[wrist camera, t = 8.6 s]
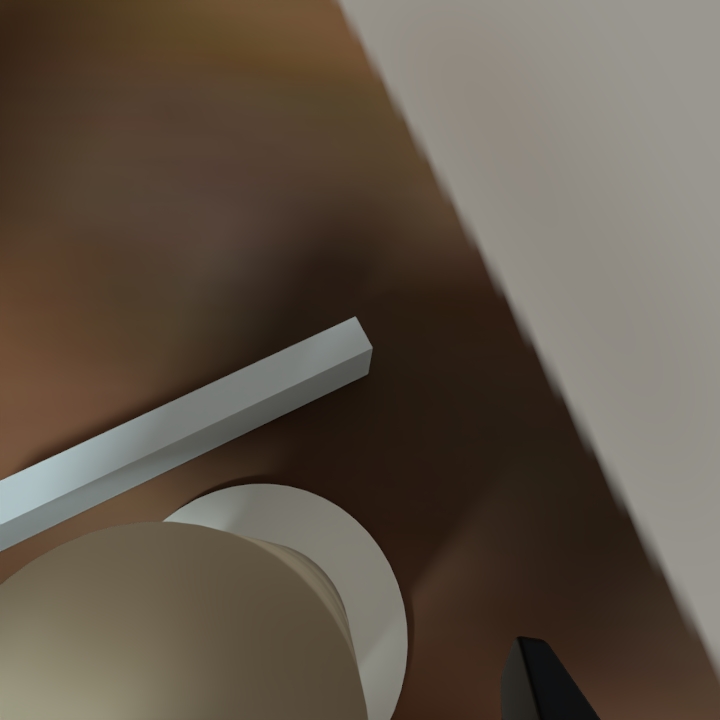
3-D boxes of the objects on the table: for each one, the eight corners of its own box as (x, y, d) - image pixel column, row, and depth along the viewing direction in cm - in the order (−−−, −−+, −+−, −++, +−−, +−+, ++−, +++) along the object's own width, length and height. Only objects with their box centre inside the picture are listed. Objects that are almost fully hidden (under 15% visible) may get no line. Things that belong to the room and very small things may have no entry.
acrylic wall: (-25, 563, 17) (-86, 565, 14) (-36, 529, 17) (-97, 526, 15) (367, 374, 19) (372, 347, 16) (353, 346, 19) (355, 316, 17)
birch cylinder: (312, 780, 15) (276, 1155, 6) (124, 712, 15) (-211, 958, 6) (374, 576, 17) (427, 601, 7) (201, 517, 17) (32, 465, 7)
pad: (352, 862, 15) (352, 867, 15) (50, 749, 15) (44, 753, 15) (440, 536, 17) (442, 536, 17) (176, 448, 18) (173, 446, 18)
